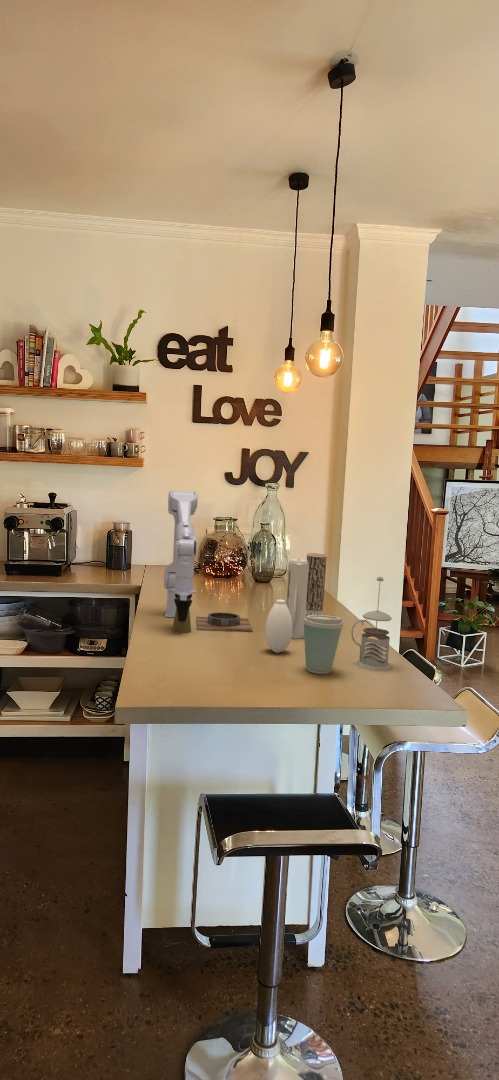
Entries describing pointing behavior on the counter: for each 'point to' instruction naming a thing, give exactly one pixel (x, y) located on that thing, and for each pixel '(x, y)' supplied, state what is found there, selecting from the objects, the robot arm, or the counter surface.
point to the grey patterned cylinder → (315, 583)
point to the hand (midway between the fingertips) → (182, 618)
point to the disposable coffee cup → (321, 641)
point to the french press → (374, 641)
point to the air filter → (297, 595)
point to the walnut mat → (243, 627)
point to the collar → (223, 619)
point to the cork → (182, 626)
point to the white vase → (278, 626)
